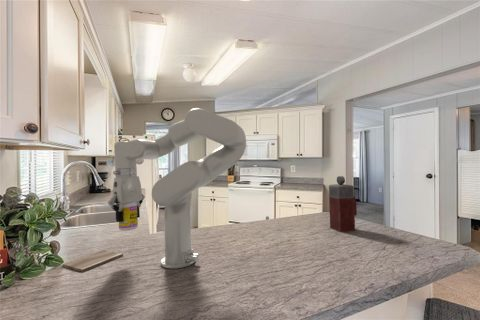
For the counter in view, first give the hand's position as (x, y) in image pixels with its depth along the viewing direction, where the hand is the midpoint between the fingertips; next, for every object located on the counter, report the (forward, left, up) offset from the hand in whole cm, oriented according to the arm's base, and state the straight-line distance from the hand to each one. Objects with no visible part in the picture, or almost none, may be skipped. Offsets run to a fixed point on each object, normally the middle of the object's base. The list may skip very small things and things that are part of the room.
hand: (128, 219), depth 95 cm
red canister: (-72, -75, -16) cm, 105 cm away
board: (+12, +6, -16) cm, 20 cm away
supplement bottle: (0, 0, -4) cm, 4 cm away
